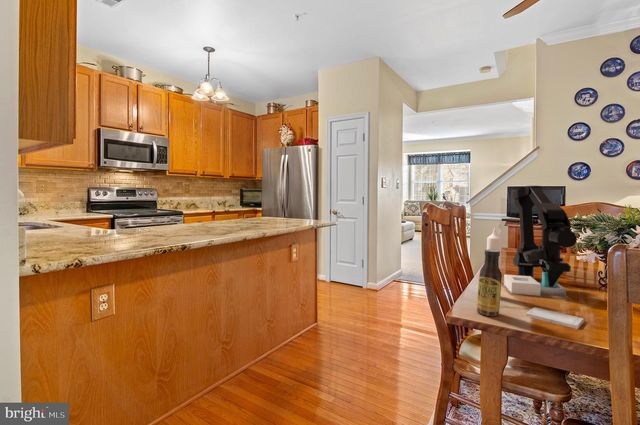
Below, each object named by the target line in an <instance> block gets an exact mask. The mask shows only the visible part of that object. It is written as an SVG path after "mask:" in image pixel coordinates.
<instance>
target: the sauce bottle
mask: <svg viewBox="0 0 640 425" xmlns="http://www.w3.org/2000/svg"><path fill="white" fill-rule="evenodd" d="M499 256H500V251H498V250H492V249H487V248H485V250H484V262H483V263H484V264H483V265H482V267H481V268H480V270H479V276H478V286H477V300H476V312H478V313H479V314H480V315H482V316H485V317H486V316H487V317H496V316H497V317H498V316H499V312H500V309H501V293H502V285H503V284H502V283H503V282H502V280H503V278H502V277H503V273H502V270H501V271H500V269H499V267H498V265H499V263H498V261H499Z"/></svg>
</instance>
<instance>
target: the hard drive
mask: <svg viewBox="0 0 640 425" xmlns="http://www.w3.org/2000/svg"><path fill="white" fill-rule="evenodd" d="M525 317H529V318H531V319H536V320H540V321H544V322H547V323H553V324H557V325H559V326H563V327H568V328H572V329H576V330H578V329H579V328H580V327H581V326H582V325H583V323H584V322H585V318H582V317H580V316H574V315H570V314H565V313H562V312H558V311H557V312H556V311H553V310H549V309H545V308H542V307H541V308H540V307H536V306H534V307H532V308H531V309H529V310H528V311H527V312H526V315H525Z"/></svg>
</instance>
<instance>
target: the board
mask: <svg viewBox="0 0 640 425" xmlns="http://www.w3.org/2000/svg"><path fill="white" fill-rule="evenodd" d="M501 285H503V287H504V288H505V289H506V290H507V292H508V293H509V294H510V295H511V296H520V297H531V298H543V299H554V300H565V301H573V298H571V297H570V296H568V295H567V294H566V296H561V295H549V294H540V296H538V295H526V294H515V293H511V292H510V291H509V290H508V289H507V287H506V286H505V285H504V282H502V284H501Z"/></svg>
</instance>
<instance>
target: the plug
mask: <svg viewBox="0 0 640 425" xmlns="http://www.w3.org/2000/svg"><path fill="white" fill-rule="evenodd" d="M558 281H559V279H558V280H557V281H556V283H555V284H554V286H553V287H558V284H559V282H558ZM541 283H542V286H545V287H550V286H549V282H548V274H547V272H543V271H542V272H541Z"/></svg>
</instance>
